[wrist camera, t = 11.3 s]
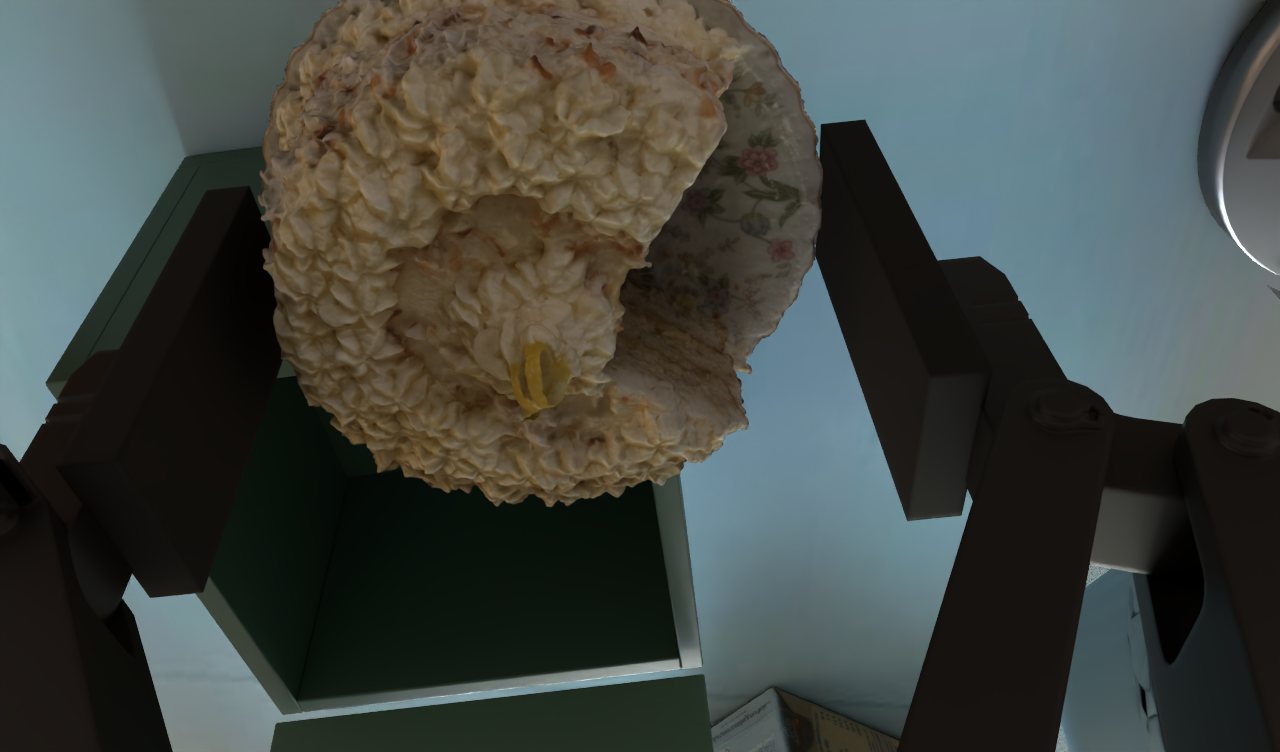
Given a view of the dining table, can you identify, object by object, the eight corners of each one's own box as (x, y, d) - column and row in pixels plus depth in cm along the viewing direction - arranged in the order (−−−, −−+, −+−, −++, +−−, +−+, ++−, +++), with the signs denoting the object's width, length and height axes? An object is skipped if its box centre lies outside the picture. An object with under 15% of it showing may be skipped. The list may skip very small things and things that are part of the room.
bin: (184, 156, 33) (43, 383, 24) (631, 96, 32) (656, 305, 23) (339, 478, 44) (282, 715, 35) (675, 436, 43) (703, 667, 34)
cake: (402, 434, 22) (341, 642, 18) (159, 0, 15) (-25, 172, 11) (845, 367, 20) (889, 579, 16) (784, -154, 13) (834, -16, 9)
